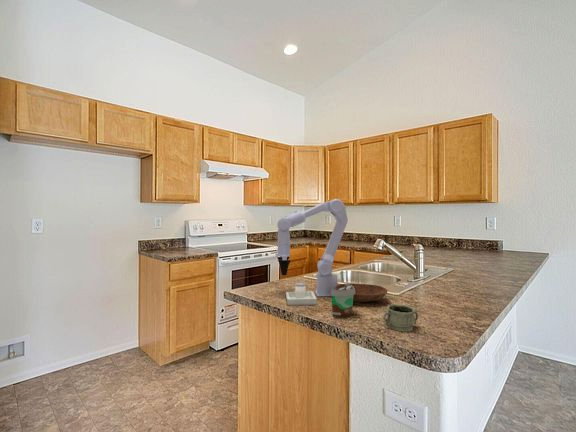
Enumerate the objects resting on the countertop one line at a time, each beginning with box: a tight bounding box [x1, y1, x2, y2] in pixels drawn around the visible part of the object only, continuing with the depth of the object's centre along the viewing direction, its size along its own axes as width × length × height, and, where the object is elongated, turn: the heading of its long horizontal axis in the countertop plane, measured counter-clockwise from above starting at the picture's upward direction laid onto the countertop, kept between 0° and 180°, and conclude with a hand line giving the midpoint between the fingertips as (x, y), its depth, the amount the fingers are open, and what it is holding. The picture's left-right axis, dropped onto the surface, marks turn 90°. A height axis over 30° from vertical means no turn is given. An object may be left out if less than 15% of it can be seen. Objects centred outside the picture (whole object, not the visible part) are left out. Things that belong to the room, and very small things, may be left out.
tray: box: [285, 290, 318, 307], centre depth 129 cm, size 12×12×2 cm
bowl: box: [335, 283, 388, 303], centre depth 131 cm, size 20×22×5 cm
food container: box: [331, 283, 355, 318], centre depth 112 cm, size 12×6×10 cm, turn 143°
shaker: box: [294, 281, 307, 299], centre depth 129 cm, size 4×4×7 cm
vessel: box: [383, 303, 419, 332], centre depth 100 cm, size 12×9×6 cm
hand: (283, 273), depth 140 cm, fingers open, 7 cm apart
